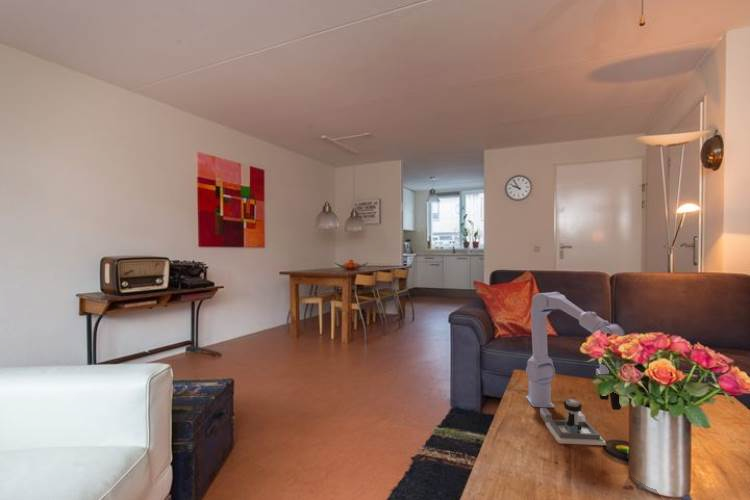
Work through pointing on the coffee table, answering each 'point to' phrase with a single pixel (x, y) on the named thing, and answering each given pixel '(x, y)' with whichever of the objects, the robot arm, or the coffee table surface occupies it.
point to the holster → (547, 415)
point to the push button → (572, 415)
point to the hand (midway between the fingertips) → (609, 404)
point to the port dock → (568, 437)
